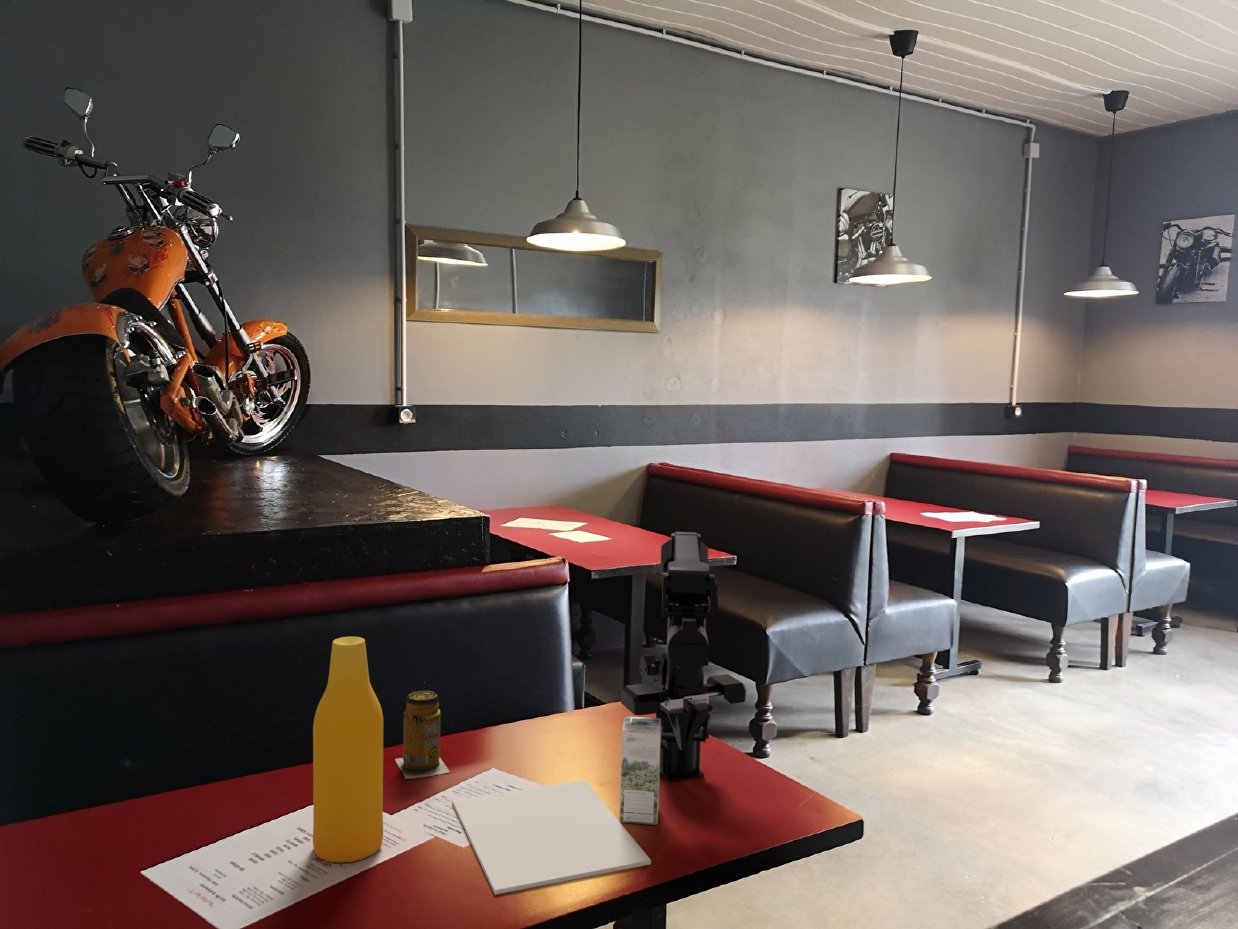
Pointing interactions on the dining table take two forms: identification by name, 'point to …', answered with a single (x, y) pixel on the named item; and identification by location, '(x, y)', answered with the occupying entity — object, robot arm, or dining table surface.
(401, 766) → the condiment
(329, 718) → the beer bottle
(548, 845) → the mat
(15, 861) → the dining table surface
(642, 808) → the syrup box
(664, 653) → the robot arm
